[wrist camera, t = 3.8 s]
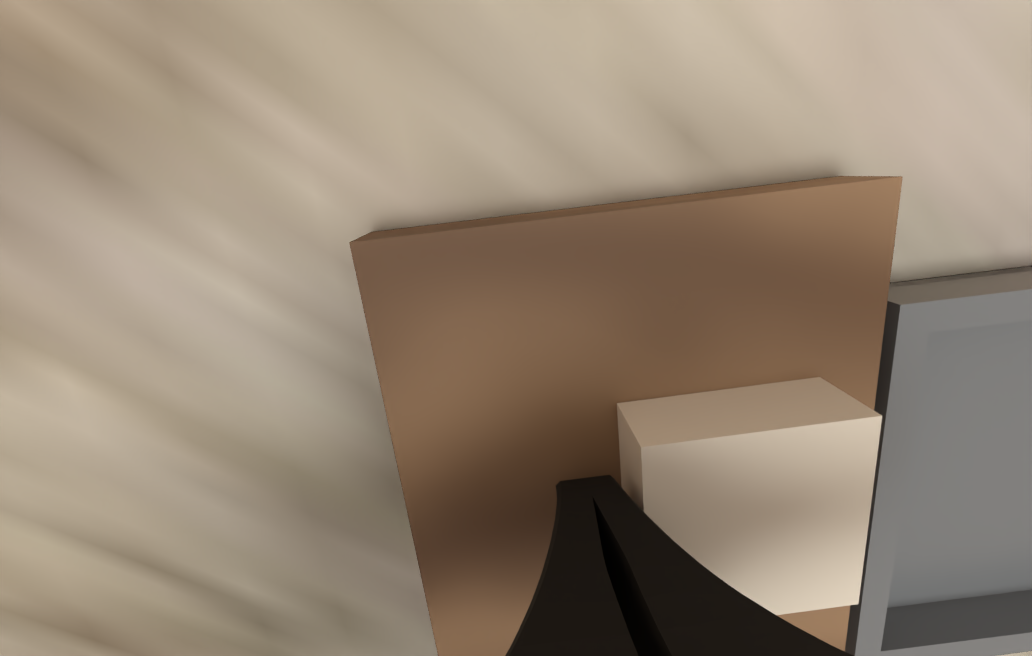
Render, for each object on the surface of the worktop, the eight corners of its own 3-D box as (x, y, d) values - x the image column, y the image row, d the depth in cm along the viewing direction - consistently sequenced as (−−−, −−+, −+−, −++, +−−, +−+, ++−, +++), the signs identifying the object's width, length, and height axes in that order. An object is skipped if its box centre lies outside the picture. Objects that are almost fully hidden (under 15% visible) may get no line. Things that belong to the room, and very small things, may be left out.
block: (806, 543, 13) (858, 604, 12) (626, 567, 13) (649, 632, 11) (819, 376, 12) (882, 415, 10) (616, 403, 12) (640, 447, 10)
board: (796, 687, 18) (832, 748, 16) (470, 729, 18) (468, 795, 16) (839, 176, 12) (902, 176, 11) (371, 232, 12) (349, 242, 10)
